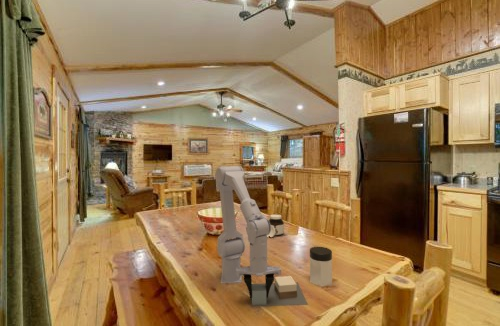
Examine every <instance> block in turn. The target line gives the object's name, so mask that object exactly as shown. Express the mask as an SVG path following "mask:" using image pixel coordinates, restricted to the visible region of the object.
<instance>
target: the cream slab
mask: <svg viewBox="0 0 500 326" xmlns="http://www.w3.org/2000/svg"><path fill="white" fill-rule="evenodd" d="M274 283H275V285H276V287H277V289H278V291H279V292H289V291H297V284H296V281H295V280H294V278H293V277H292V276H291V275H285V276H283V275H282V276H274Z"/></svg>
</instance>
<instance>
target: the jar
mask: <svg viewBox="0 0 500 326" xmlns="http://www.w3.org/2000/svg"><path fill="white" fill-rule="evenodd" d="M309 283H310V284H313V285H316V286H319V287H321V288H322V287H327V286H332V285H333V250H332V249H330V248H328V247H325V246H313V247H311V248H310V249H309Z"/></svg>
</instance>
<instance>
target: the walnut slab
mask: <svg viewBox="0 0 500 326" xmlns="http://www.w3.org/2000/svg"><path fill="white" fill-rule="evenodd" d="M274 290H275V292H276V293H277V295H278V297H279V298H280V299H285V298H292V297H297V291H289V292H279V291H278V289H277V287H276V285H275V284H274Z"/></svg>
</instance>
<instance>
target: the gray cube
mask: <svg viewBox="0 0 500 326" xmlns="http://www.w3.org/2000/svg"><path fill="white" fill-rule="evenodd" d="M252 305H266V287H265V284H261V283H252ZM252 305H251V306H252Z"/></svg>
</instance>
